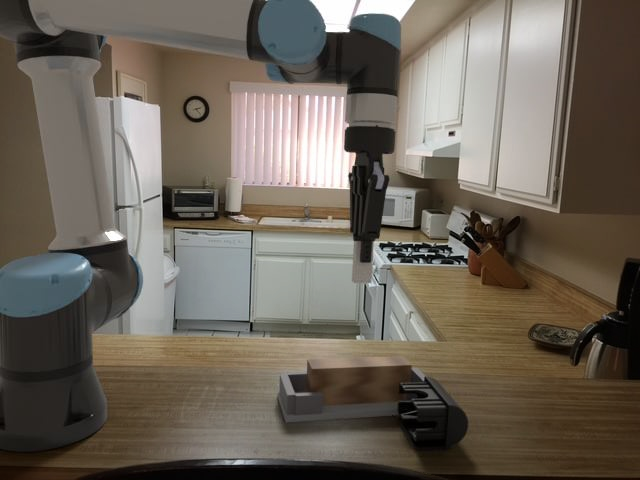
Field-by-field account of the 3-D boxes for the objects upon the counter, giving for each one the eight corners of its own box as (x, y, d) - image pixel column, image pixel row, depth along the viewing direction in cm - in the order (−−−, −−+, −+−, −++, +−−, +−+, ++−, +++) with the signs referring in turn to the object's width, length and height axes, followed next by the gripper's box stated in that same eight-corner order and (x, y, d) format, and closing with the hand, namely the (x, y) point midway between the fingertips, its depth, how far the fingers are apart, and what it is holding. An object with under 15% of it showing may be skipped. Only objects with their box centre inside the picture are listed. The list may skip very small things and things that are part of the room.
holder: (285, 422, 78) (286, 396, 78) (277, 396, 87) (278, 372, 86) (437, 412, 83) (439, 388, 83) (415, 388, 92) (416, 366, 92)
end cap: (466, 451, 72) (470, 404, 71) (416, 453, 71) (419, 406, 70) (440, 417, 82) (443, 375, 81) (395, 418, 81) (398, 376, 80)
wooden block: (310, 406, 82) (312, 368, 81) (306, 395, 86) (307, 359, 85) (409, 401, 85) (411, 365, 84) (400, 390, 89) (402, 355, 88)
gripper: (410, 125, 74) (399, 292, 77) (380, 130, 86) (371, 273, 90) (358, 122, 72) (349, 292, 75) (335, 127, 85) (328, 273, 88)
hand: (361, 281), depth 82 cm, fingers closed
